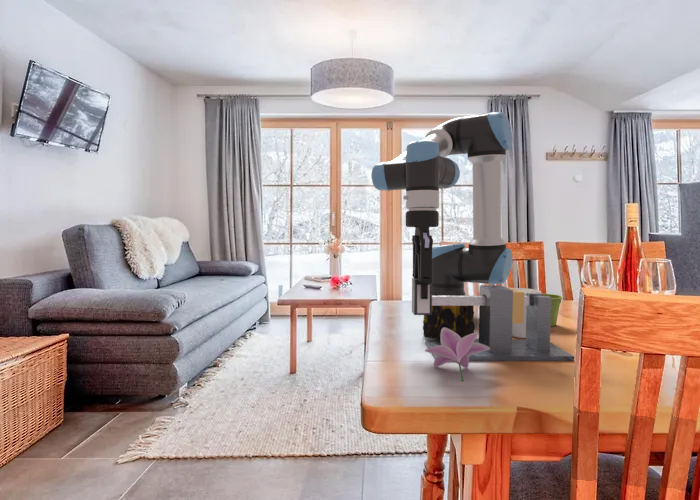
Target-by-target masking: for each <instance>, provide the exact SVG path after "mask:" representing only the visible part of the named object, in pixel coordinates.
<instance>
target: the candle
mask: <svg viewBox="0 0 700 500" xmlns="http://www.w3.org/2000/svg"><path fill="white" fill-rule="evenodd" d="M443 296H445V295H443ZM474 309H475V306H432V315H423V320H422V321H423V322H422V330H423V336H424V337H426V338H429V339H430V338H431V339H440V335H441V329H442V328H444V327H445V328H448V329H450V330H452V331H454V332H455V333H457V334H458V335H459V336H460V337H461V338H463V337H465V336H467V335H469V334H472V333H475V328H476V327H475V311H474Z"/></svg>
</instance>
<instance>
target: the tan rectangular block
mask: <svg viewBox="0 0 700 500" xmlns="http://www.w3.org/2000/svg"><path fill="white" fill-rule="evenodd" d="M505 287H506V286H505ZM506 288H508V289H511V290H513V313H512V324H523V323H524V292H522V291H519V290H516V289H514V288H515V287H506Z"/></svg>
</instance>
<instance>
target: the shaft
mask: <svg viewBox="0 0 700 500" xmlns="http://www.w3.org/2000/svg"><path fill="white" fill-rule="evenodd" d="M415 282H418V278H414V277H412V278H411V313H412V314H413V315H414V316H424V315H432V306H474V307H475V306H476V307H479V306H486V297H487V296H479V295H466V296H432V282H431V283H430V313H417V285H415ZM524 306H529V297H528V296H524Z"/></svg>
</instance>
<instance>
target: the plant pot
mask: <svg viewBox="0 0 700 500" xmlns="http://www.w3.org/2000/svg"><path fill="white" fill-rule="evenodd" d="M542 294H543V296H549V297H552V308H551V323H550V327H554V326H557V323H558V322H557V321H558V318H559V317H558V316H559V310H560V304H561V303H562V300H563V299H564V297H563V295H559V294H553V293H552V294H551V293H542Z"/></svg>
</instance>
